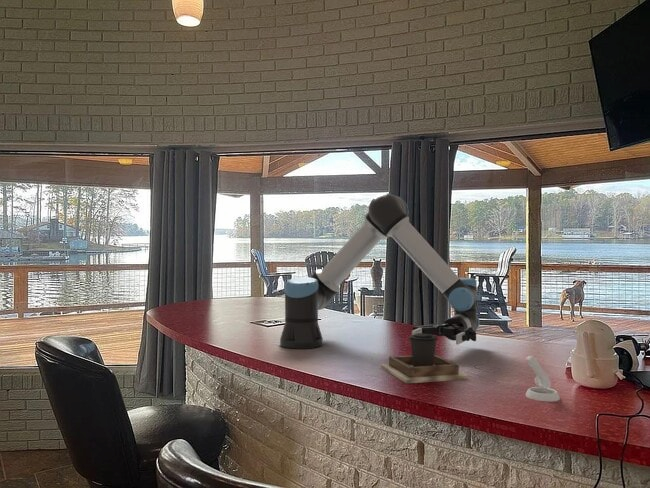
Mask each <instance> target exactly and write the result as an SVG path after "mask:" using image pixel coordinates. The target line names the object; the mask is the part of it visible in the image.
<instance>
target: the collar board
mask: <svg viewBox="0 0 650 488" xmlns="http://www.w3.org/2000/svg"><path fill="white" fill-rule="evenodd" d="M388 358H389V359H388V363H381V364H380V368H381V369H382V370H384V371H385V372H387V373H388V374H390V375H392V376H393V377H395V378H396V379H398V380H399V381H401V382H403V383H405V384H417V383H420V384H421V383H422V384H423V383H432V382H433V383H435V382H436V383H437V382H447V381H459V380H469V375H467V374H466V373H464V372H462V371H460V369H459V368H460V367H459V364H457V363H455V362H453V361H451V360H448V359H447V358H444V357H442V356H440V355H437V354H435V356H434V364H433V366H419V367H413V359H412V354H411V355H400V356H399V355H396V356H394V355H393V356H389V357H388Z"/></svg>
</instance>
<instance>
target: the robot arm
mask: <svg viewBox="0 0 650 488" xmlns="http://www.w3.org/2000/svg"><path fill="white" fill-rule="evenodd" d="M409 211H410V210H409V207H408V204H407V203H406V201H405V200H404V199H403V198H402V197H400V196H398V195H394V194H391V193H387V192H384V193H380V194H377V195H376V196H374V197H373V198H372V200H371V201H370V203H369V205H368V212H367V213H366V214H365V215H364V221H363V224H362V225H361V226H360V227H359V228H358V229H357V230H356V231H355V233H354V234H353V235H352V236H351V237H350V238H349V239H348V240H347V241H346V243H344V245H343V246H342V247H341V248H340V249H339V251H337V252H336V254H335V255H334V256H333V257H332V258H331V259H330V260H329V261H328V262H327V264H325V266H324V267H323V268H320V269H316V270H315V271H314V272H313V273H312V274H311V275H310V277H309V276H307V277H305V276H303V277H294V278H290V279H288V280H286V282H285V287H284V316H285V317H284V325H283V328H282V331H281V335H280V339H279V345H280V346H281V347H282V348H287V349H296V350H297V349H298V350H299V349H301V350H303V349H304V350H305V349H315V348H319V347H322V346H323V345H324V342H323V341H324V339H323V335H322V331H321V329H320V325H319V311H320V310H324V309H325V308H327V307H328V306H330V304H331V303H332V302H333V300H334V299H335V298H334V297H336V295H337V294H338V292H340V291H341V290H340V285H341V283H342V282H344V280H346V278H347V277H348V276H349V275H350V274H351V273H352V272H353V270H354V269H355V268H356V267H357V266H358V265H359V264H360V263H361V262H362V261H363V260H364V259H365V258H366V257H367V255H368V254H369V253H370V252H371V251H372V249H374V248H375V246H376V245H377V244H378V243H379V242H380V241H381V240H382V239H389V237H391V238H392V239H393V240H394V241H395V242H396V243H397V245H399V247H401V249H402V250H403V251H404V252H405V253H406V255H407V256H408V257H409V258H410V259H411V260H412V261H413V262H414V263H415V265H416V266H417V267H418V268H419V270H421V271H422V272H423V273H424V275H425V276H426V277H427V279H429V280H430V281H431V282H432V283H433V285H434V286H435V287H436V288H437V289H438V291H440V293H441V294H442V295H443V296H444V298H445V299H446V300H447V301H448V303H449V305H450V307H451V308H452V309H453V316H450V317H448V318H447V319H445V320H444V322H443V323H442V324H434V323H431V324H430V323H429V324H424V325H416V326H414V325H413V326H412V327H411V328H412V329H411V335H414V334H418V333H426V334H431V335H434V336H436V337H445V338H446V339H448V340H450V341H454V342H455V345H460V344H463V343H464V342H469V341H471V342H472V341H473V342H476V341H477V332H476V331H477V329H478V328H479V326H480V318H479V316H478V315H477V301H478V300H477V298H478V297H477V295H478V293H477V290H478V286H477V280H476V278H472V277H459V276H458V275H457V274H456V272H455V271H454V270H453V269H452V268H451V267H450V266H449V265H448V264H447V262H446V261H445V260H444V259H443V257H441V256H440V255H439V254H438V252H437V251H436V250H435V248H433V247H432V246H431V245H430V244H429V242H428V241H427V240H426V239H425V238H424V237H423V236H422V235H421V234H420V232H419V231H418V230H417V228H415V227H414V226H413V225H412V224H411V222H410V217H409Z"/></svg>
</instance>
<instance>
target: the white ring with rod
mask: <svg viewBox="0 0 650 488" xmlns="http://www.w3.org/2000/svg"><path fill="white" fill-rule="evenodd" d="M525 360H526V362H527V363H528V365H529V366H530V368H531V369H532V371H533V372H534V373H535V375H536V376H535V378H534V383H535V386H531V387H528V389H527V391H526V392H525V397H526V398H528V399H530V400H533V401H539V402H547V403H549V402H551V403H552V402H557V401H560V400H561V397H560V395H559V393H558V391H557V390H555V389H553V388H551V386H552V381H551V379H550V377H549V376H548V374H547V373H546V371H545V370H544V368H543V367H542V366H541V365H540V364H539V361H538V360H537V359H536V357H534V356H532V355H528V356H527V357H526V358H525Z"/></svg>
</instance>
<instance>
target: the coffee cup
mask: <svg viewBox="0 0 650 488" xmlns="http://www.w3.org/2000/svg"><path fill="white" fill-rule="evenodd" d="M408 339H409V341H410V348H411V355H412V359H413V367H419V366H433V364H434V356H435V355H436V347H437V346H436V345H437V340H439V339H438V336H436V335H431V334H426V333H418V334H414V335H412V334H410V335H409V336H408Z"/></svg>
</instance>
